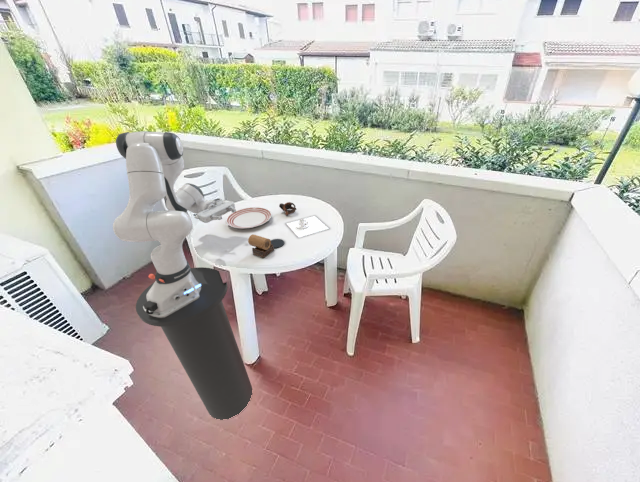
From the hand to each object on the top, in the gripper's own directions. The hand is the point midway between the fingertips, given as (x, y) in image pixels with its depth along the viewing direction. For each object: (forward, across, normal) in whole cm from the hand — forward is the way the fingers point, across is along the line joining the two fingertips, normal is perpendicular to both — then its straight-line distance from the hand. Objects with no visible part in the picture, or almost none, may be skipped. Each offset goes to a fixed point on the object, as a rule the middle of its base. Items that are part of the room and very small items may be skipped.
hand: (228, 214), depth 147 cm
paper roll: (+19, 0, +12) cm, 22 cm away
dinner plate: (-11, +23, +18) cm, 32 cm away
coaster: (+21, +9, +18) cm, 29 cm away
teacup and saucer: (+25, +34, +18) cm, 46 cm away
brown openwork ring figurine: (+3, +44, +18) cm, 48 cm away
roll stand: (+20, 0, +18) cm, 27 cm away
